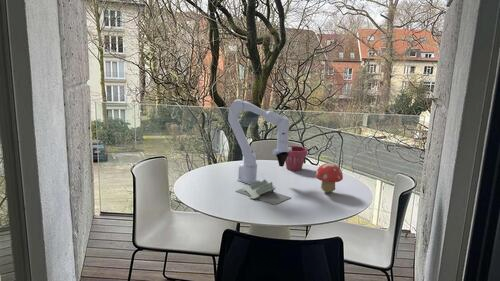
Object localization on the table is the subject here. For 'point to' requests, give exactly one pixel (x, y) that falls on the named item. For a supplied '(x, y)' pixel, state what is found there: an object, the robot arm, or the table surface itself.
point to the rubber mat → (268, 197)
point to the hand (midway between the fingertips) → (281, 166)
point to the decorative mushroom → (329, 176)
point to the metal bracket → (259, 188)
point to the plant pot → (295, 158)
